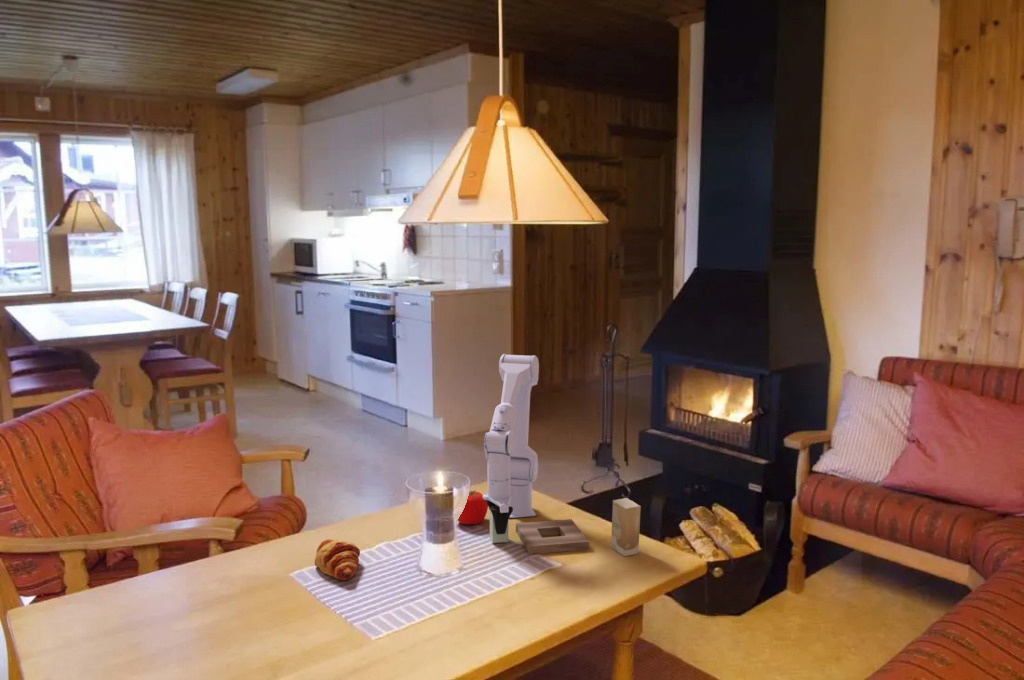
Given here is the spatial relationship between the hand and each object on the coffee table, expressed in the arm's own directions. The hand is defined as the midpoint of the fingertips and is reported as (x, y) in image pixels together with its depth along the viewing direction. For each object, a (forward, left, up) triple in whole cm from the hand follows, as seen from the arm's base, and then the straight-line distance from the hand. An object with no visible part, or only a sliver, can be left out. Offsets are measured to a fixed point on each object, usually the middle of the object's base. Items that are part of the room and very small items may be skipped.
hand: (498, 530), depth 196 cm
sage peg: (0, 0, -2) cm, 2 cm away
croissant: (+7, -39, -3) cm, 40 cm away
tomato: (-14, -5, -3) cm, 15 cm away
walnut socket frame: (+2, +13, -3) cm, 13 cm away
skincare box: (+12, +29, -3) cm, 32 cm away
